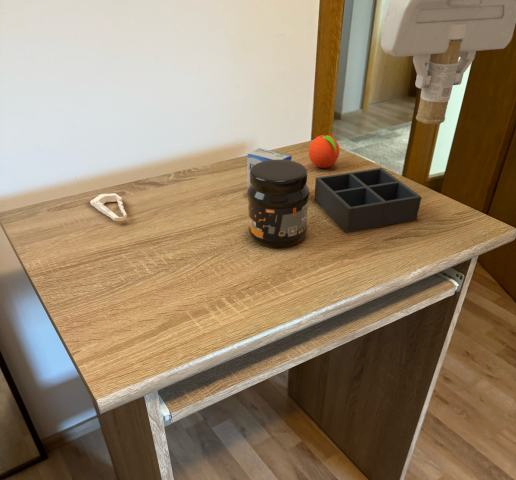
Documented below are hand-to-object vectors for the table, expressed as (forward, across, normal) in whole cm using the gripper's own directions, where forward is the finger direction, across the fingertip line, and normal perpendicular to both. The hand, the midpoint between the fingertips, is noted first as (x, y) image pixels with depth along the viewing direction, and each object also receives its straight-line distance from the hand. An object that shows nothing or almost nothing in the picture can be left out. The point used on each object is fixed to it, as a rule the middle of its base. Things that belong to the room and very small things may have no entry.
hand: (437, 85), depth 74 cm
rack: (+24, +4, -9) cm, 26 cm away
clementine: (+24, +3, -31) cm, 39 cm away
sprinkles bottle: (+5, 0, 0) cm, 5 cm away
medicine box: (+24, +20, -21) cm, 38 cm away
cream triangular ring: (+24, +51, -25) cm, 62 cm away
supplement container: (+24, +24, -5) cm, 34 cm away
